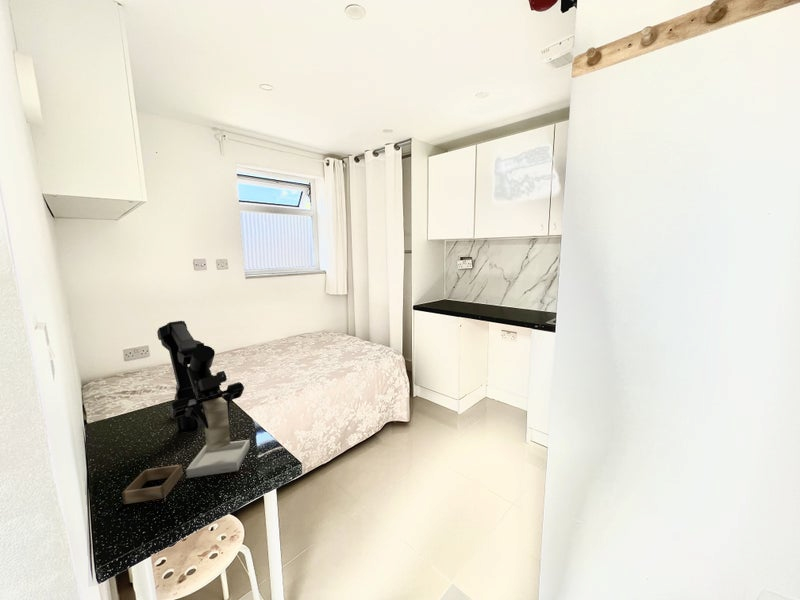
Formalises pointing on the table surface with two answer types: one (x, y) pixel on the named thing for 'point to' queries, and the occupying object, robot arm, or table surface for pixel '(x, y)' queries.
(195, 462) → the white tray
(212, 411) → the maple block
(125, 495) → the oak collar
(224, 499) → the table surface
